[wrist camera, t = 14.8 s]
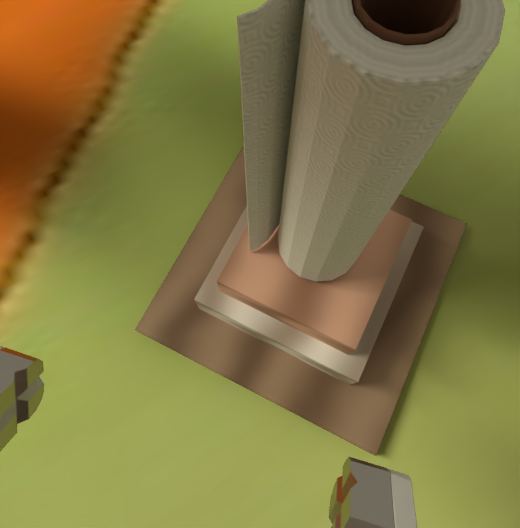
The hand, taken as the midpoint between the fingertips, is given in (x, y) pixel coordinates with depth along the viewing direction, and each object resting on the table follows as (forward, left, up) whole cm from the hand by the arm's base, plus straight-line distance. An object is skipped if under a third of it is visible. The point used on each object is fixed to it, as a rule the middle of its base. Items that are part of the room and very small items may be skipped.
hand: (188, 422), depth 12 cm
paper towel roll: (0, +14, -20) cm, 24 cm away
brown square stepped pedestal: (0, +13, -27) cm, 30 cm away
